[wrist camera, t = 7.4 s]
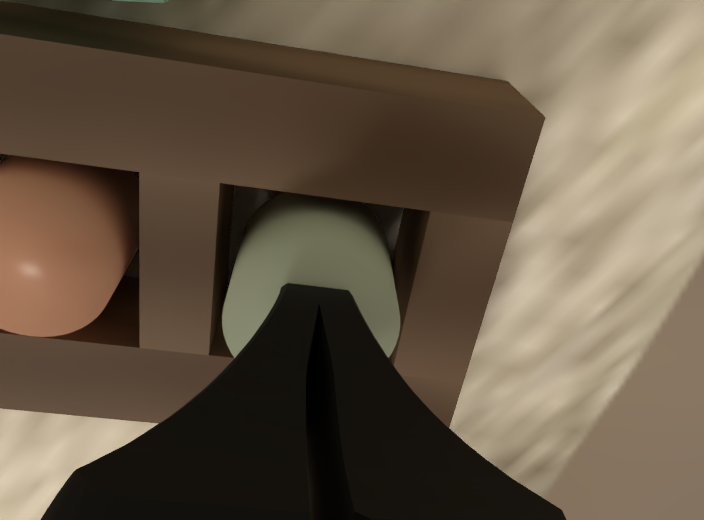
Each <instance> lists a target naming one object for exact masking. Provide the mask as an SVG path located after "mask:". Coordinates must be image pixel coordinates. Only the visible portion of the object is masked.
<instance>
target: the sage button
mask: <svg viewBox="0 0 704 520" xmlns="http://www.w3.org/2000/svg"><path fill="white" fill-rule="evenodd" d="M287 283H293V284H301V285H310V286H318V287H326V288H335V289H343V290H349V291H350V293H351V294H352V295H353V297H354V299H355V302H356V304H357V306H358V308H359V310H360V312H361V314H362V315H363V317H364V319H365V321H366V323H367V325H368V326H369V328H370V330H371V332H372V333H373V335H374V337H375V338H376V340H377V341H378V343H379V344H380V346H381V348H382V349H383V351H384V352H385V354H386V355H387V357H388V358H389V357H390V355H391V354H392V352H393V350H394V348H395V346H396V343H397V340H398V337H399V331H400V312H399V306H398V301H397V295H396V289H395V283H394V278H393V272H392V266H391V261H390V255H389V249H388V244H387V238H386V235H385V232H384V230H383V228H382V226H381V223H380V222H379V220H378V219H377V217H376V216H375V215H374V214H373V212H372V211H371V210H370V209H369V208H368V207H367V206H365V205H364V204H363V203H362V202H358V201H350V200H343V199H335V198H328V197H320V196H313V195H306V194H298V193H291V192H283V193H281V194H279V195H277V196H275V197H273V198H271V199H270V200H268V201H267V202H266V203H264V204H263V205H262V206H261V207H260V208H259V209H258V210H257V211H256V212H255V213H254V214H253V216H252V217H251V218H250V220H249V221H248V223H247V225H246V227H245V230H244V233H243V236H242V239H241V243H240V247H239V250H238V254H237V258H236V262H235V265H234V269H233V273H232V277H231V280H230V284H229V288H228V292H227V295H226V299H225V303H224V307H223V313H222V328H223V334H224V337H225V340H226V343H227V346H228V348H229V350H230V352H231V354H232V355H233V356H234V358H235V357H236V356H237V355H238V354H239V352H240V351H241V350H242V349H243V348H244V347H245V345H246V344H247V343H248V342H249V341H250V339H251V338H252V337H253V335H254V334H255V333H256V331H257V330H258V328H259V327H260V326H261V324H262V323H263V321H264V320H265V318H266V317H267V315H268V314H269V312H270V310H271V309H272V307H273V305H274V304H275V302H276V300H277V298H278V295H279V293H280V290H281V287H282V286H284V285H285V284H287Z"/></svg>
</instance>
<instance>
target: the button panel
mask: <svg viewBox="0 0 704 520" xmlns="http://www.w3.org/2000/svg"><path fill="white" fill-rule="evenodd" d="M544 120H545V117H544V116H543V115H542V114H541V113H540V112H539V111H538V110H537V109H536V108H535V107H534V106H533V105H532V104H531V103H530V102H529V101H528V100H527V99H526V98H524V97H523V96H522V95H521V94H520V93H519V92H518V91H517V90H516V89H515V88H514V87H513V86H512V85H511V84H510V83H509V82H508V81H502V80H496V79H489V78H483V77H477V76H470V75H464V74H458V73H451V72H445V71H439V70H432V69H426V68H420V67H413V66H407V65H401V64H394V63H388V62H382V61H375V60H369V59H363V58H357V57H350V56H344V55H338V54H331V53H325V52H319V51H312V50H306V49H300V48H293V47H287V46H281V45H274V44H268V43H262V42H255V41H249V40H243V39H236V38H230V37H224V36H217V35H211V34H205V33H198V32H192V31H186V30H179V29H173V28H167V27H160V26H154V25H148V24H142V23H135V22H129V21H123V20H116V19H110V18H104V17H97V16H91V15H85V14H78V13H72V12H66V11H59V10H53V9H47V8H40V7H34V6H28V5H21V4H15V3H9V2H2V1H0V154H8V155H15V156H23V157H30V158H38V159H45V160H53V161H60V162H67V163H75V164H82V165H90V166H97V167H105V168H112V169H119V170H127V171H134V172H139V279H138V278H130V277H122V279H121V280H120V282H119V284H118V286H117V287H116V289H115V291H114V293H113V294H112V296H111V298H110V300H109V302H108V303H107V305H106V306H105V308H104V310H103V311H102V312H101V313H100V315H99V316H98V317H97V318H96V319H94V320H93V321H92V322H91V323H89V324H88V325H86V326H85V327H83V328H81V329H79V330H76V331H74V332H71V333H68V334H64V335H59V336H51V337H35V336H26V335H20V334H16V333H12V332H8V331H6V330H3V329H0V408H2V409H13V410H24V411H34V412H45V413H55V414H66V415H76V416H87V417H98V418H108V419H119V420H129V421H140V422H151V423H161V422H162V421H164V420H165V419H167V418H168V417H170V416H171V415H172V414H174V413H175V412H176V411H178V410H179V409H180V408H182V407H183V406H184V405H185V404H186V403H188V402H189V401H190V400H191V399H193V398H194V397H195V396H196V395H197V394H199V393H200V392H201V391H202V390H203V389H204V388H206V387H207V386H208V385H209V384H210V383H211V382H212V381H213V380H214V379H215V378H216V377H217V376H218V375H219V374H220V373H221V372H222V371H223V370H224V369H225V368H226V367H227V366H228V365H229V364H230V363H231V362H232V361H233V360H234V356H233V355H232V354H231V352H230V350H229V348H228V346H227V343H226V340H225V337H224V334H223V328H222V313H223V307H224V303H225V299H226V295H227V292H228V289H227V280H228V266H229V253H230V240H231V227H232V213H233V200H234V187H235V185H239V186H246V187H253V188H261V189H268V190H276V191H283V192H291V193H298V194H306V195H313V196H320V197H328V198H335V199H343V200H350V201H358V202H365V203H373V204H380V205H387V206H395V207H402V208H404V210H403V215H402V219H401V224H400V228H399V233H398V238H397V242H396V247H395V251H394V256H393V261H392V265H391V266H392V272H393V278H394V283H395V289H396V295H397V301H398V306H399V312H400V331H399V337H398V340H397V343H396V346H395V348H394V350H393V352H392V354H391V355H390V357H389V360H390V361H391V363H392V364H393V366H394V367H395V368H396V370H397V371H398V372H399V374H400V375H401V376H402V378H403V379H404V380H405V382H406V383H407V384H408V386H409V387H410V388H411V389H412V390H413V392H414V393H415V394H416V395H417V396H418V397H419V398H420V399H421V401H422V402H423V403H424V404H425V405H426V406H427V407H428V408H429V409H430V410H431V411H432V412H433V413H434V414H435V415H436V416H437V417H438V418H439V419H440V420H441V421H442V422H443V423H444V424H445V425H446V426H447V427H448V428H449V427H450V423H451V420H452V417H453V414H454V410H455V407H456V404H457V401H458V397H459V394H460V391H461V388H462V385H463V381H464V378H465V375H466V372H467V368H468V365H469V362H470V359H471V356H472V352H473V349H474V346H475V343H476V339H477V336H478V333H479V330H480V326H481V323H482V320H483V317H484V314H485V310H486V307H487V304H488V301H489V297H490V294H491V291H492V288H493V285H494V281H495V278H496V275H497V272H498V268H499V265H500V262H501V259H502V255H503V252H504V249H505V246H506V243H507V239H508V236H509V233H510V230H511V226H512V223H513V220H514V217H515V214H516V210H517V207H518V204H519V201H520V197H521V194H522V191H523V188H524V184H525V181H526V178H527V175H528V172H529V168H530V165H531V162H532V159H533V155H534V152H535V149H536V146H537V143H538V139H539V136H540V133H541V130H542V126H543V123H544Z"/></svg>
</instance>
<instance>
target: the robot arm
mask: <svg viewBox="0 0 704 520" xmlns="http://www.w3.org/2000/svg"><path fill="white" fill-rule="evenodd" d="M41 520H566V518H565V516H564V514H563V511H562V510H561V509H559V508H558V507H556V506H555V505H553V504H551V503H550V502H548V501H547V500H545V499H543V498H542V497H540V496H539V495H537V494H536V493H534V492H532V491H531V490H529V489H528V488H526V487H524V486H523V485H521V484H520V483H518V482H516V481H515V480H513V479H512V478H510V477H509V476H508V475H506V474H505V473H504V472H502V471H501V470H500V469H498V468H497V467H495V466H494V465H493V464H491V463H490V462H489V461H487V460H486V459H485V458H483V457H482V456H481V455H480V454H478V453H477V452H476V451H475V450H473V449H472V448H471V447H470V446H468V445H467V444H466V443H465V442H464V441H463V440H462V439H460V438H459V437H458V436H457V435H456V434H455V433H454V432H453V431H452V430H450V429H449V428H448V427H447V426H446V425H445V424H444V423H443V422H442V421H441V420H440V419H439V418H438V417H437V416H436V415H435V414H434V413H433V412H432V411H431V410H430V409H429V408H428V407H427V406H426V405H425V404H424V403H423V402H422V401H421V399H420V398H419V397H418V396H417V395H416V394H415V393H414V392H413V390H412V389H411V388H410V387H409V386H408V384H407V383H406V382H405V380H404V379H403V378H402V376H401V375H400V374H399V372H398V371H397V370H396V368H395V367H394V366H393V364H392V363H391V361H390V360H389V358H388V357H387V355H386V354H385V352H384V351H383V349H382V348H381V346H380V344H379V343H378V341H377V340H376V338H375V337H374V335H373V333H372V332H371V330H370V328H369V326H368V325H367V323H366V321H365V319H364V317H363V315H362V314H361V312H360V310H359V308H358V306H357V304H356V302H355V299H354V297H353V295H352V294H351V293H350V291H349V290H343V289H335V288H326V287H318V286H310V285H301V284H293V283H287V284H285V285H284V286H282V287H281V290H280V293H279V295H278V298H277V300H276V302H275V304H274V305H273V307H272V309H271V310H270V312H269V314H268V315H267V317H266V318H265V320H264V321H263V323H262V324H261V326H260V327H259V328H258V330H257V331H256V333H255V334H254V335H253V337H252V338H251V339H250V341H249V342H248V343H247V344H246V345H245V347H244V348H243V349H242V350H241V351H240V352H239V354H238V355H237V356H236V357H235V358H234V360H233V361H232V362H231V363H230V364H229V365H228V366H227V367H226V368H225V369H224V370H223V371H222V372H221V373H220V374H219V375H218V376H217V377H216V378H215V379H214V380H213V381H212V382H211V383H210V384H209V385H208V386H207V387H206V388H204V389H203V390H202V391H201V392H200V393H199V394H197V395H196V396H195V397H194V398H193V399H191V400H190V401H189V402H188V403H186V404H185V405H184V406H183V407H182V408H180V409H179V410H178V411H176V412H175V413H174V414H172V415H171V416H170V417H168V418H167V419H165V420H164V421H162V422H161V423H159V424H158V425H156V426H155V427H153V428H152V429H150V430H148V431H147V432H145V433H144V434H142V435H141V436H139V437H138V438H136V439H135V440H133V441H131V442H130V443H128V444H126V445H125V446H123V447H121V448H119V449H117V450H115V451H113V452H111V453H109V454H107V455H105V456H103V457H101V458H99V459H97V460H95V461H93V462H91V463H89V464H87V465H85V466H83V467H80V468H78V469H76V470H75V471H74V472H73V473H72V475H71V476H70V477H69V479H68V480H67V481H66V483H65V484H64V485H63V487H62V488H61V490H60V491H59V492H58V494H57V495H56V497H55V498H54V500H53V501H52V503H51V504H50V506H49V507H48V509H47V510H46V512H45V514H44V515H43V517H42V518H41Z"/></svg>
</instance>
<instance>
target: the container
mask: <svg viewBox="0 0 704 520" xmlns="http://www.w3.org/2000/svg"><path fill="white" fill-rule="evenodd" d="M114 1H133V2H152V3H165V2H168V1H170V0H114Z"/></svg>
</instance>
